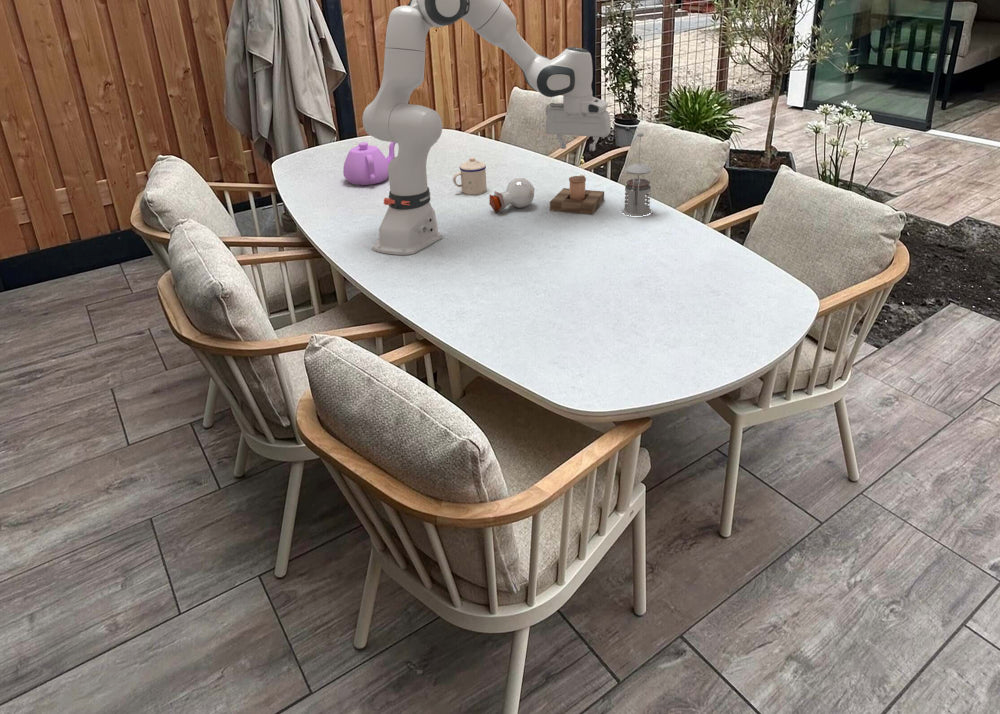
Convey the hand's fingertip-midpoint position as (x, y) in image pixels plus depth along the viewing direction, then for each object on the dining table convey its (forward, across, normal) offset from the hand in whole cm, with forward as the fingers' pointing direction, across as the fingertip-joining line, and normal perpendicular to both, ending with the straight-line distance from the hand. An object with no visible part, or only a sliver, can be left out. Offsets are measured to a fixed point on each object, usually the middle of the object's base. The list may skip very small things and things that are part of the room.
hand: (577, 149), depth 239 cm
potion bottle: (+18, -19, -8) cm, 28 cm away
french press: (+18, +20, -2) cm, 27 cm away
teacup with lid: (+18, -40, +4) cm, 44 cm away
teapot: (+18, -81, +8) cm, 83 cm away
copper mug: (+18, 0, +1) cm, 18 cm away
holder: (+18, 0, 0) cm, 18 cm away
